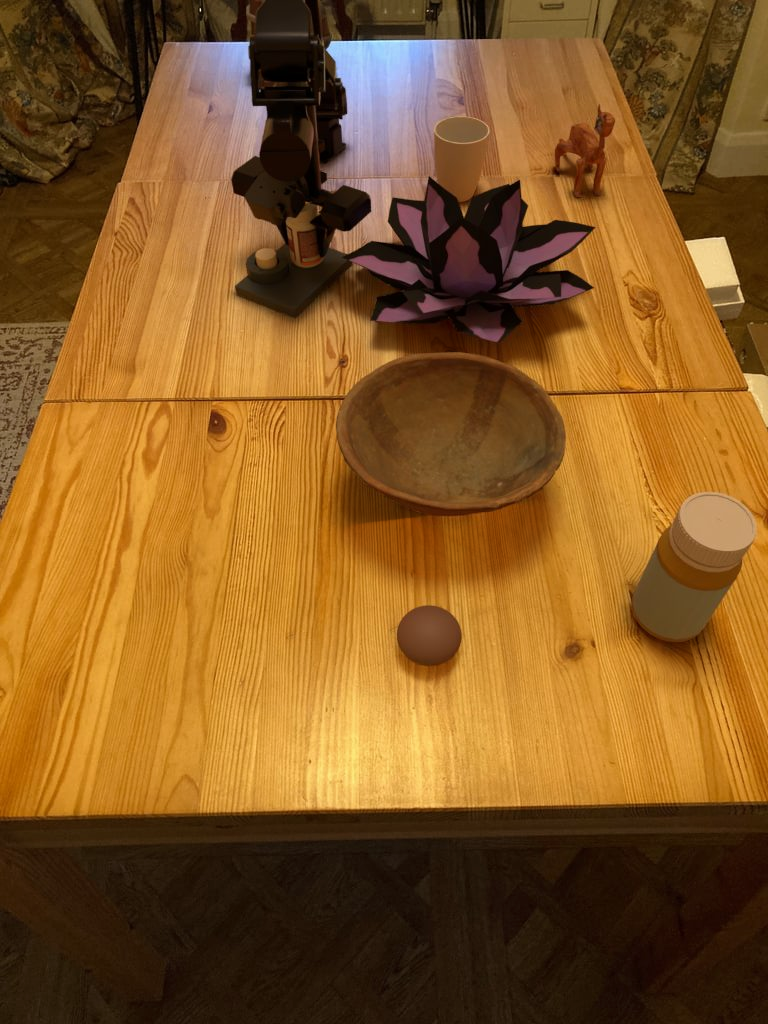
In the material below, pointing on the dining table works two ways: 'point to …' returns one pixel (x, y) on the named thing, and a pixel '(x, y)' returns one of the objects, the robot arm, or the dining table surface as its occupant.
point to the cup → (460, 154)
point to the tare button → (266, 258)
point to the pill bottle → (303, 238)
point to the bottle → (693, 566)
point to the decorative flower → (470, 261)
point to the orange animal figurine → (587, 148)
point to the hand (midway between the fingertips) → (306, 249)
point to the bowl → (451, 433)
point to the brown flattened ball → (429, 635)
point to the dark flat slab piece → (290, 281)
